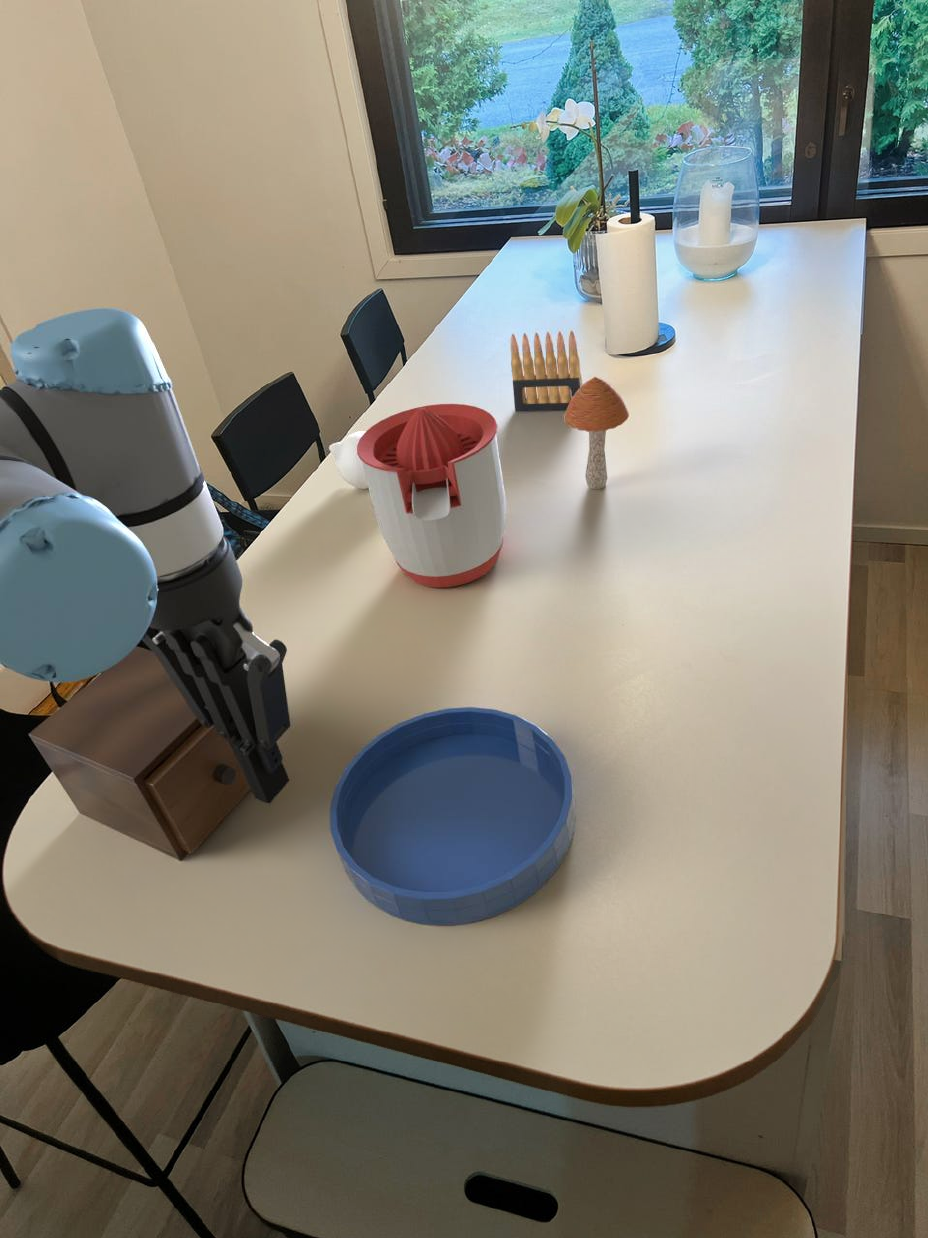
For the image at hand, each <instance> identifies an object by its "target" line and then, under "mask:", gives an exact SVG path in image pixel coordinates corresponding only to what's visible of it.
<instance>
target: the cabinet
mask: <svg viewBox="0 0 928 1238" xmlns="http://www.w3.org/2000/svg"><path fill="white" fill-rule="evenodd" d="M205 708H206V709H207V707H206V706H205ZM200 724H201V723H200V722H199V721H198V719H197V717H196V716H195V714H194V713H193V711H192V710H191V708H190V707H189V705H188V704H187V702H186V701H185V699H184V698H183V696H182V695H181V693H180V692H179V690H178V689H177V687H176V686H175V684H174V683H173V681H172V680H171V678H170V676H169V675H168V673H167V672H166V670H165V669H164V667H163V666H162V664H161V663H160V661H159V660H158V658H157V657H156V655H155V654H154V652H153V651H152V650H150V649H147V648H143V647H139V646H138V645H136V647H135V648H134V649H133V650H132V651H131V652H130V653H129V654H128V655H127V656H126V657H125V658H123V659H122V660H121V661H119V662H118V663H117V664H115V665H114V666H112V667H111V668H109V669H107V670H106V671H104V672H101V673H99V674H98V676H96V677H95V678H94V679H93V680H91V681H90V682H89V683H88V684H87V685H86V686H85V687H83V688H82V689H81V690H80V691H79V692H77V693H76V694H75V695H74V696H73V697H71V698H70V699H69V700H68V701H67V702H65V703H64V704H63V705H61V707H59V708H57V710H55V712H53V713H51V715H49V717H47V718H46V719H45V720H43V722H41V723H40V724H39V725H38V726H36V727H35V728H34V729H33V730H31V732H29V733H28V736H29V739H31V741H32V742H33V744H34V745H35V747H36V749H37V750H38V751H39V753H40V755H41V756H42V758H43V759H44V761H45V762H46V764H47V765H48V767H49V769H50V770H51V772H52V773H53V775H54V777H55V778H56V779H57V780H58V782H59V784H60V785H61V787H62V788H63V790H64V791H65V793H66V795H67V796H68V797H69V799H70V801H71V802H72V804H73V805H74V807H75V808H76V810H77V811H78V813H79V814H80V815H83V816H85V817H87V818H89V819H91V820H94V821H95V822H98V823H100V824H102V825H104V826H106V827H108V828H110V829H112V830H115V831H116V832H119V833H120V834H123V835H124V836H126V837H129V838H131V839H133V840H136V841H138V842H140V843H142V844H144V845H146V846H148V847H150V848H152V849H154V850H156V851H159V852H161V853H163V854H165V855H167V856H168V857H169V856H170V857H171V858H174V859H176V860H178V861H182V860H183V859H184V858H185V857H186V856H187V855H188V854H189V852H187V851H185V850H183V849H182V848H181V846H180V845H179V843H178V841H177V839H176V838H175V836H174V834H173V832H172V830H171V829H170V827H169V825H168V823H167V822H166V820H165V818H164V816H163V815H162V813H161V811H160V809H159V808H158V806H157V804H156V802H155V800H154V799H153V797H152V795H151V793H150V792H149V790H148V788H147V786H146V785H145V783H144V781H145V779H144V778H145V777H146V776H147V775H148V774H150V773H151V772H152V771H153V770H154V769H155V768H156V767H157V766H158V765H159V764H160V763H161V762H162V761H163V760H164V759H165V758H166V757H167V756H168V755H169V754H170V753H171V752H172V751H173V750H174V749H175V748H176V747H177V746H178V745H179V744H180V743H181V742H182V741H183V740H184V739H185V738H186V737H188V736H189V735H190V734H191V733H192V732H193V731H194V730H195V729H196V728H197V727H198V726H199V725H200Z"/></svg>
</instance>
